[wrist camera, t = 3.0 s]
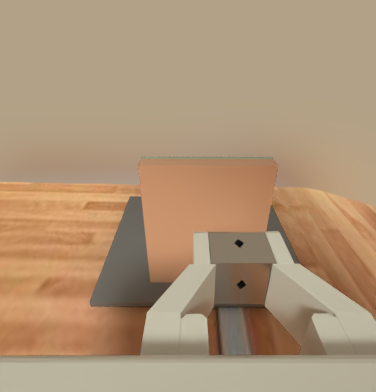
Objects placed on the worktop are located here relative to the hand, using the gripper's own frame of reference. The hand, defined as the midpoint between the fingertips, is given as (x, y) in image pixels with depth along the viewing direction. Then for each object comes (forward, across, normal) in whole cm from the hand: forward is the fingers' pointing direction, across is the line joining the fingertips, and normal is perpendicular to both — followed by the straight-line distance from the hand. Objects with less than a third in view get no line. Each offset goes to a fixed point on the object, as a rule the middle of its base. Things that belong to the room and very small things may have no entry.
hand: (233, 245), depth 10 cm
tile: (+11, 0, +13) cm, 17 cm away
